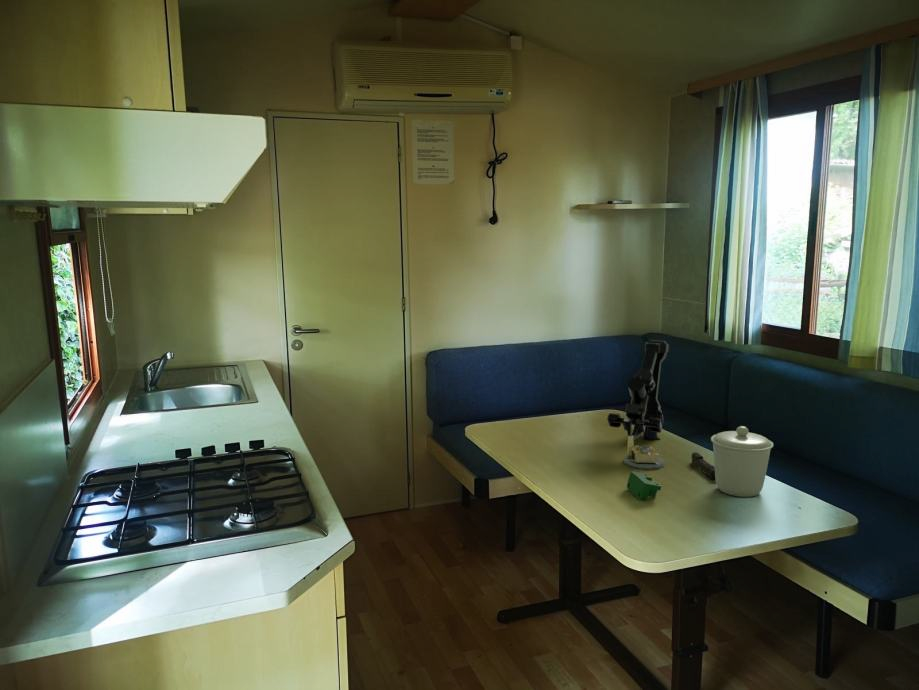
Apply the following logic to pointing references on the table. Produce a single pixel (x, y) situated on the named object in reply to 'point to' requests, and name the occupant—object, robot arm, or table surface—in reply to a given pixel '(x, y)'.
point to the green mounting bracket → (642, 485)
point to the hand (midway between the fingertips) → (630, 443)
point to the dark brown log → (703, 465)
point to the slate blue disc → (645, 465)
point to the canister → (740, 461)
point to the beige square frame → (640, 453)
